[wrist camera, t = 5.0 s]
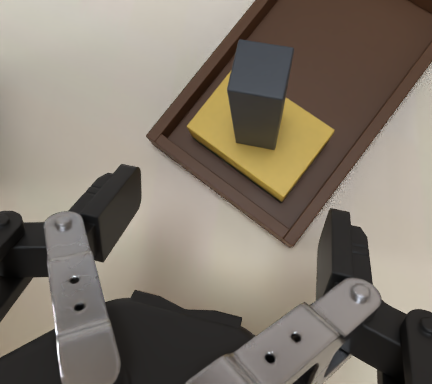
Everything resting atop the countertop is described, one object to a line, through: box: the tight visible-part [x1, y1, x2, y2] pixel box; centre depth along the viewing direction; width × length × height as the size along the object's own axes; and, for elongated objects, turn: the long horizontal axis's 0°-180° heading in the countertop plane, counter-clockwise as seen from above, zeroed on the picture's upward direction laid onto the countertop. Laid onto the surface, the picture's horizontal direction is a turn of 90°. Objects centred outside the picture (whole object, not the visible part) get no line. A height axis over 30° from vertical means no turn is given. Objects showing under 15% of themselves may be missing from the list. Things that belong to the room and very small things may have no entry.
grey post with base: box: [187, 39, 335, 203], centre depth 23 cm, size 8×6×11 cm
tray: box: [146, 0, 432, 247], centre depth 28 cm, size 13×21×2 cm, turn 142°
